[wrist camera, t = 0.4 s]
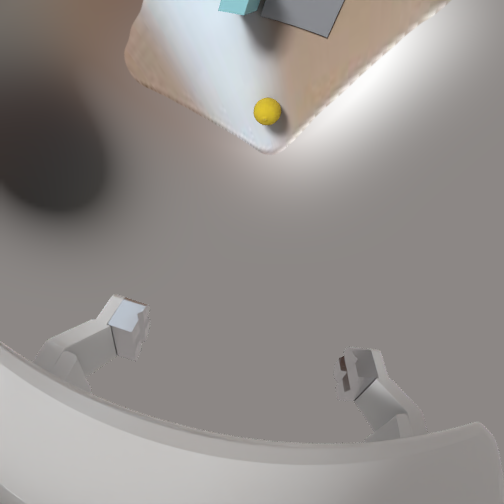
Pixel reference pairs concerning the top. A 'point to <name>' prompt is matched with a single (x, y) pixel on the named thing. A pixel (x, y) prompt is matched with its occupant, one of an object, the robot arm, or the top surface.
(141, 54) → the top surface
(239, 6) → the teal block
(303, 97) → the top surface
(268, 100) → the lemon
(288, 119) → the top surface
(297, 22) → the mat
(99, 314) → the robot arm
